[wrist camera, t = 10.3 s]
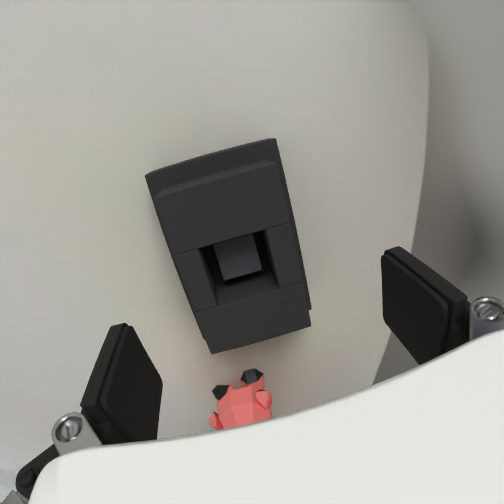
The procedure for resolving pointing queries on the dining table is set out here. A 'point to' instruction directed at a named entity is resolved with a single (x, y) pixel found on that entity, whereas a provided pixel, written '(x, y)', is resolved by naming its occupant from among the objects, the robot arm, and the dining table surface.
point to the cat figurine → (242, 402)
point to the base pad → (215, 167)
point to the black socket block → (228, 227)
